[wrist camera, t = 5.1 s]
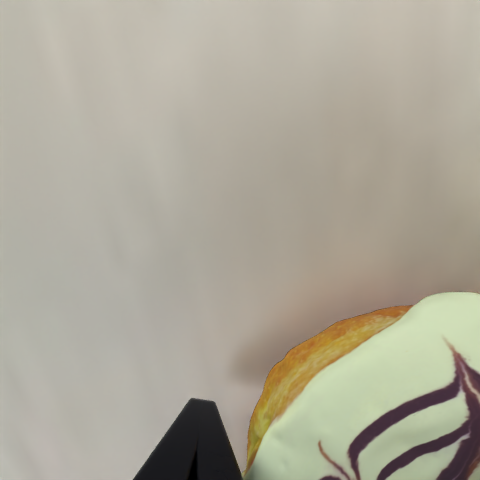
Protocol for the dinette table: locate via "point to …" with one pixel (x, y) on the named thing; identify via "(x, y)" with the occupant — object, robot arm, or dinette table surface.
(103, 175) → the dinette table surface
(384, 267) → the dinette table surface
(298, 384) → the decorated donut
